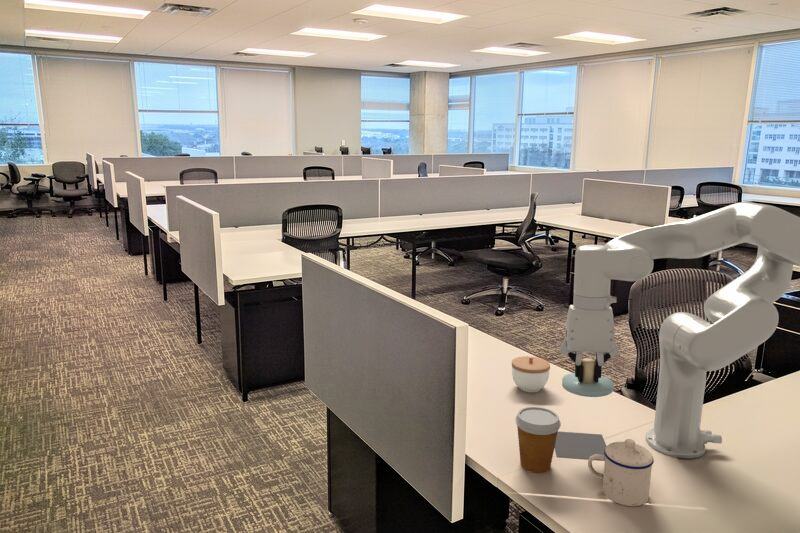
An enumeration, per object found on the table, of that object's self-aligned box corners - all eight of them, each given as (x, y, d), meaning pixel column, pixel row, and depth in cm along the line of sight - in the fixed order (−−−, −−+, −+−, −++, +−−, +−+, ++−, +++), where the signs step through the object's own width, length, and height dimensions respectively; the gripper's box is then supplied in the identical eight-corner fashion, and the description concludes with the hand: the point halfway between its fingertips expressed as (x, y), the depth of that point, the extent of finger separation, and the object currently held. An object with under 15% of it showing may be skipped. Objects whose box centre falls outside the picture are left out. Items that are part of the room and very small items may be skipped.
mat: (601, 436, 138) (601, 434, 138) (612, 462, 126) (612, 461, 126) (550, 432, 140) (550, 430, 140) (556, 458, 128) (556, 456, 128)
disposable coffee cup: (559, 481, 119) (562, 428, 117) (512, 476, 121) (515, 423, 119) (556, 457, 129) (559, 407, 126) (513, 452, 130) (515, 403, 128)
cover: (607, 377, 135) (608, 352, 133) (618, 397, 124) (620, 370, 123) (558, 376, 136) (559, 351, 135) (566, 396, 125) (567, 369, 124)
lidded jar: (503, 383, 169) (505, 352, 167) (536, 378, 172) (537, 349, 170) (522, 398, 159) (523, 366, 157) (556, 393, 162) (558, 361, 160)
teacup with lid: (650, 487, 117) (655, 435, 115) (649, 512, 109) (654, 457, 107) (588, 473, 122) (592, 423, 120) (583, 497, 114) (587, 443, 112)
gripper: (625, 297, 128) (621, 374, 132) (551, 296, 131) (548, 372, 135) (634, 306, 121) (629, 388, 125) (555, 305, 123) (552, 385, 127)
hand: (587, 379), depth 130 cm, fingers closed on cover, 2 cm apart
